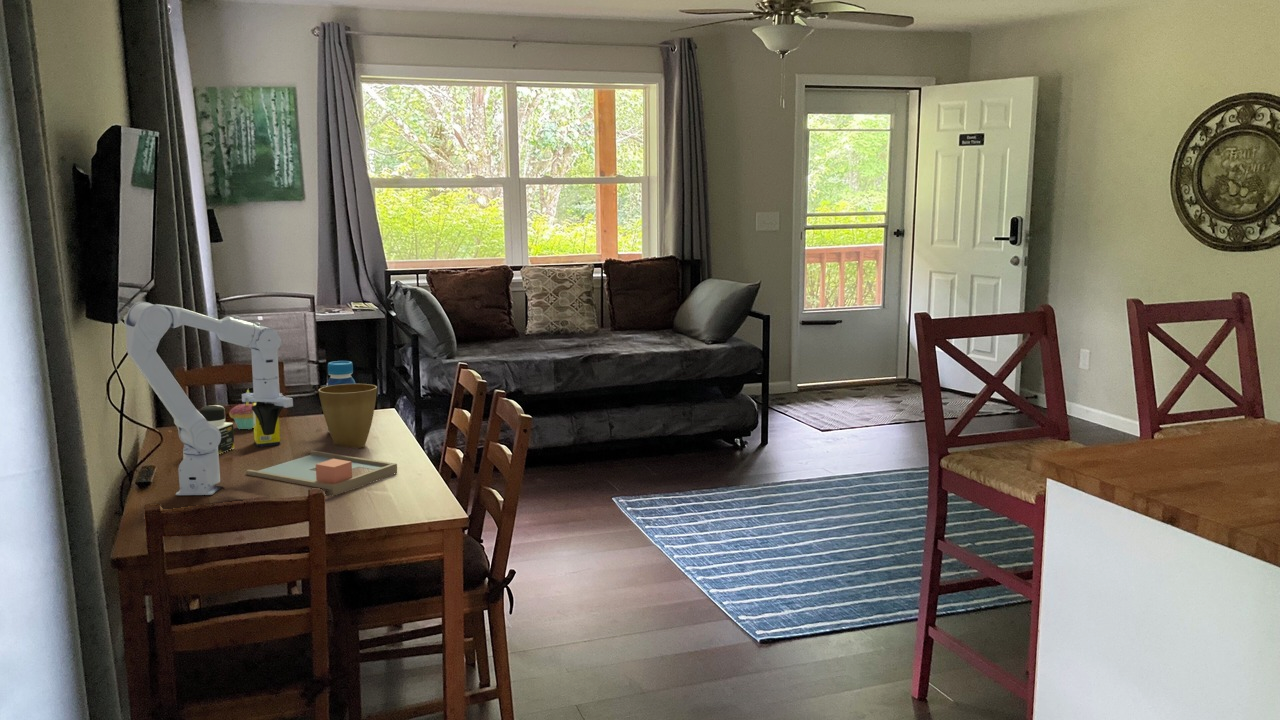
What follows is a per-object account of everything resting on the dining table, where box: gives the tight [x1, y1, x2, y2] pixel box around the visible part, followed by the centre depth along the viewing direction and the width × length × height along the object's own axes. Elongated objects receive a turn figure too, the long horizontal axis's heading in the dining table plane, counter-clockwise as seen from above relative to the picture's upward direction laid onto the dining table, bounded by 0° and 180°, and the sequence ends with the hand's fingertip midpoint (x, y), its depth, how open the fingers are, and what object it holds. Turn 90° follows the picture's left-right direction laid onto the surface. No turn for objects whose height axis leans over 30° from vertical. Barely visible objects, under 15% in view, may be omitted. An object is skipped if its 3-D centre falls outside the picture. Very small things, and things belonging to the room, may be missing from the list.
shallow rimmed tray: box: [245, 450, 398, 497], centre depth 227 cm, size 27×21×2 cm
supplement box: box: [251, 402, 281, 447], centre depth 258 cm, size 6×6×11 cm
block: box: [315, 459, 353, 484], centre depth 218 cm, size 6×6×4 cm
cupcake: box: [228, 387, 254, 430], centre depth 276 cm, size 9×8×12 cm
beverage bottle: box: [325, 360, 357, 434], centre depth 271 cm, size 8×8×20 cm
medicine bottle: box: [198, 404, 236, 456], centre depth 249 cm, size 7×7×12 cm
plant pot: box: [318, 383, 378, 450], centre depth 255 cm, size 15×15×16 cm
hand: (269, 434), depth 226 cm, fingers closed
